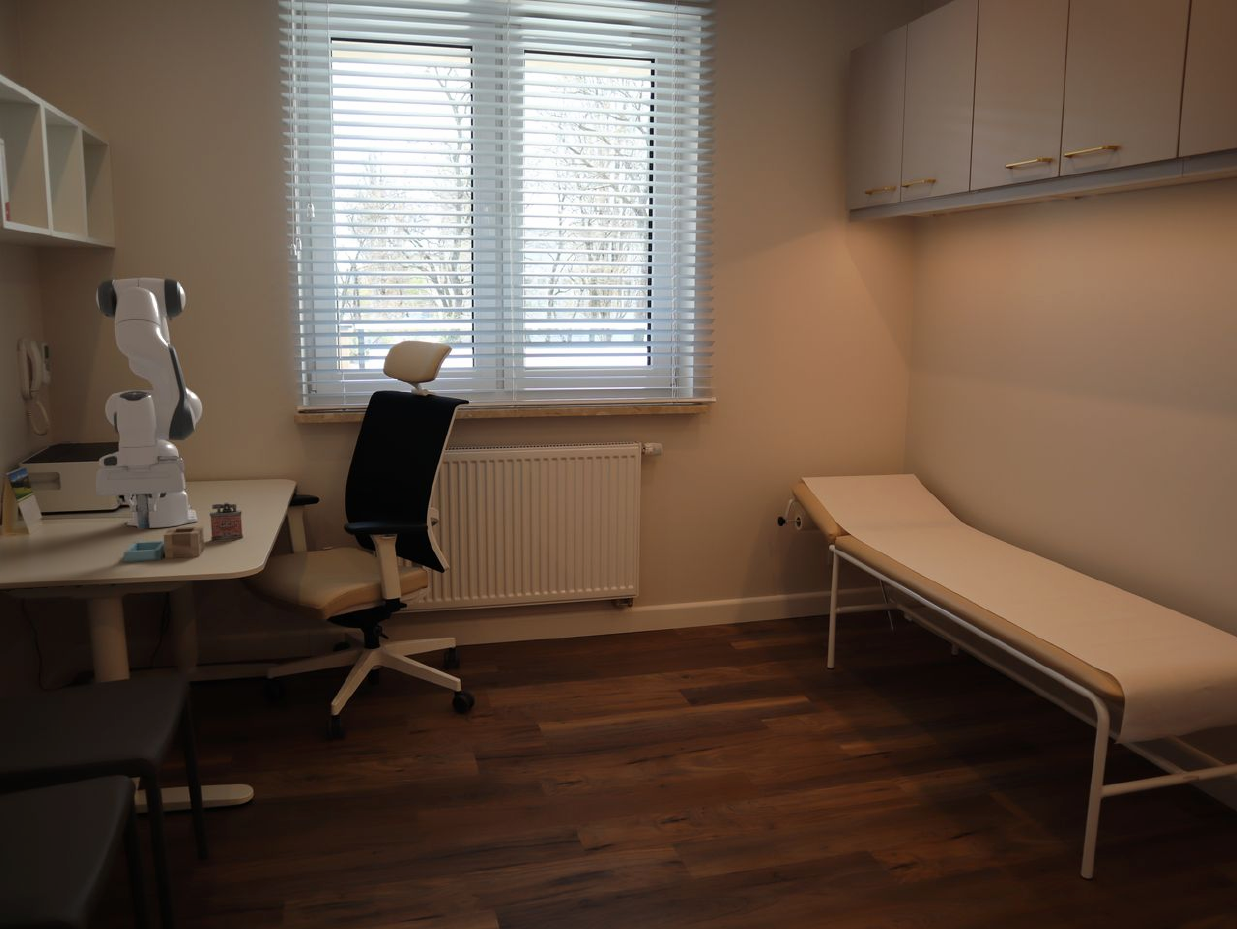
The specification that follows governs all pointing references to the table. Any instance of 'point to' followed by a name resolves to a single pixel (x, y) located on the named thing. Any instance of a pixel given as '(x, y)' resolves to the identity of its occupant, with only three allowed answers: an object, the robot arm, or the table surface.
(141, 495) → the post
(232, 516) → the lighter
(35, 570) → the table surface
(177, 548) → the bored block
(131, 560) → the tray
